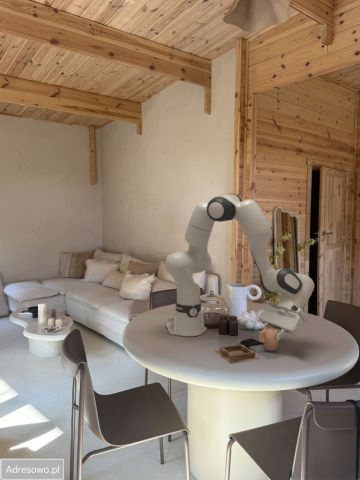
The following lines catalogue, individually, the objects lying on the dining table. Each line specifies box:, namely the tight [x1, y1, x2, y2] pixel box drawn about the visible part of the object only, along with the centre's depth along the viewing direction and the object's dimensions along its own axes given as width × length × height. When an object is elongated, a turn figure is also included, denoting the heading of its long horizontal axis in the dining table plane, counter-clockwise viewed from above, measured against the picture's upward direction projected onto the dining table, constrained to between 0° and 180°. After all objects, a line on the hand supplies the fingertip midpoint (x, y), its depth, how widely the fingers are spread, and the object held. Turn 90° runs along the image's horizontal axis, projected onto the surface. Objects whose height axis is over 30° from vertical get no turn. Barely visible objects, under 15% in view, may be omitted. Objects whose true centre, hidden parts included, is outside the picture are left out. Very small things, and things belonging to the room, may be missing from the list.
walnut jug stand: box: [214, 343, 261, 365], centre depth 143 cm, size 13×13×4 cm
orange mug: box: [258, 326, 280, 351], centre depth 146 cm, size 6×8×8 cm
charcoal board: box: [249, 344, 295, 360], centre depth 147 cm, size 14×12×2 cm
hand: (269, 336), depth 146 cm, fingers closed on orange mug, 6 cm apart
